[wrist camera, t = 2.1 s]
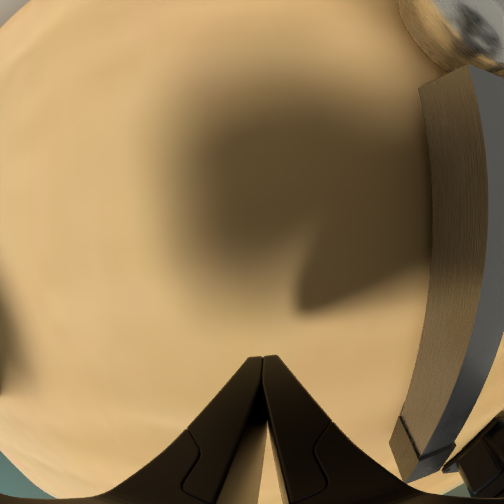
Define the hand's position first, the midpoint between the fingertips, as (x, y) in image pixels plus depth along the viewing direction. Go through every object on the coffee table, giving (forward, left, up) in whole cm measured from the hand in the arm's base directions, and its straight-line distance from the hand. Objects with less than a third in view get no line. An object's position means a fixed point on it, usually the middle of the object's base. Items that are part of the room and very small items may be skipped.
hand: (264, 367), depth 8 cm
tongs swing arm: (-5, -7, -1) cm, 9 cm away
